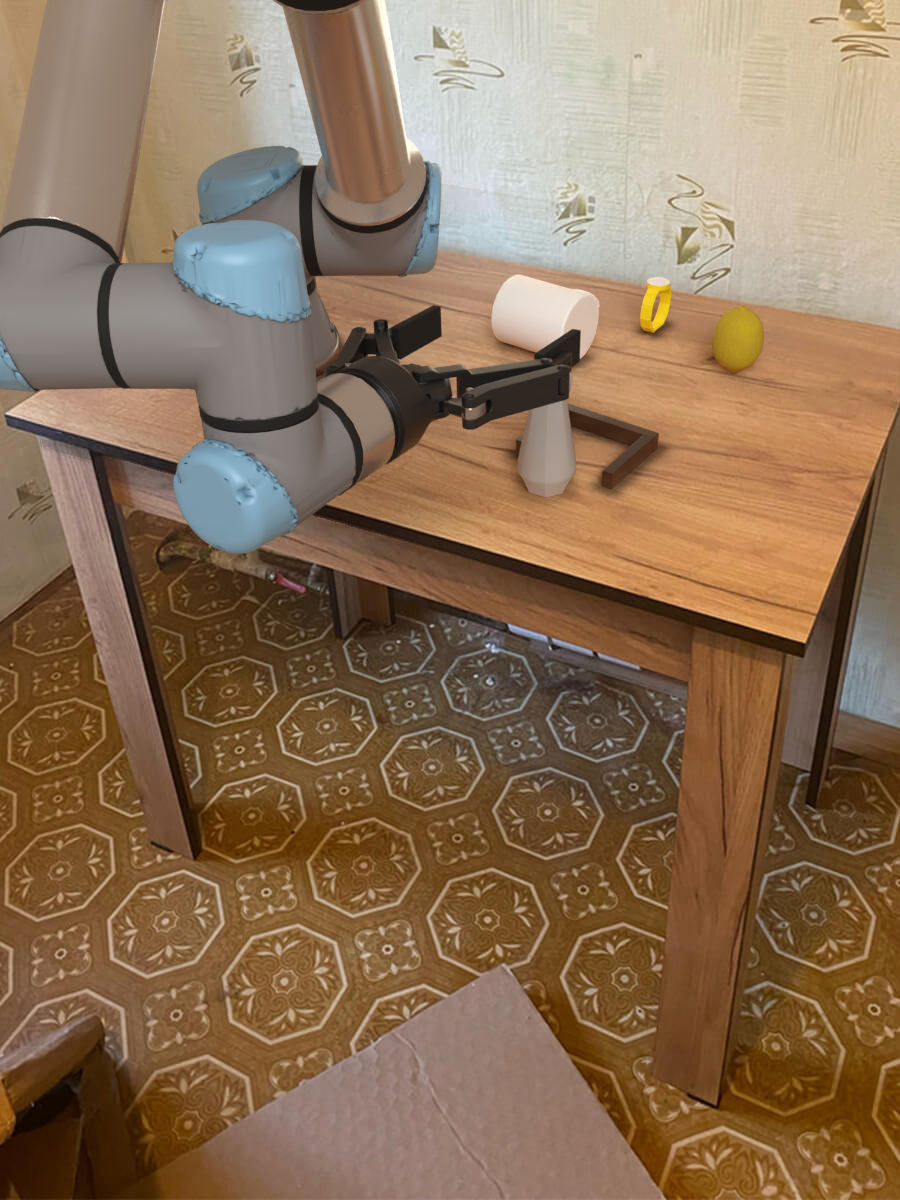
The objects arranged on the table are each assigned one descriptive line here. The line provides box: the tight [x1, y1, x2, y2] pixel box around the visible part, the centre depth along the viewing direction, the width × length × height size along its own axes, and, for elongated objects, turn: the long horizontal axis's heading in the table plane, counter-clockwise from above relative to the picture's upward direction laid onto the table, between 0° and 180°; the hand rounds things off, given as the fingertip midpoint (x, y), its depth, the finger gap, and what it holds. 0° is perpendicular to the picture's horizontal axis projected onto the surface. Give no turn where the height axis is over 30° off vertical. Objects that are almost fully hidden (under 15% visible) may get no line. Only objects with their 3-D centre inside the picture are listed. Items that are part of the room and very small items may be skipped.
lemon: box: [711, 305, 765, 374], centre depth 123 cm, size 6×6×8 cm
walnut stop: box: [515, 402, 660, 490], centre depth 113 cm, size 11×9×2 cm
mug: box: [490, 274, 601, 360], centre depth 130 cm, size 12×10×8 cm
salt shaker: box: [516, 371, 577, 498], centre depth 105 cm, size 6×6×13 cm
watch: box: [639, 276, 673, 334], centre depth 133 cm, size 6×3×6 cm, turn 147°
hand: (504, 332), depth 94 cm, fingers open, 13 cm apart
